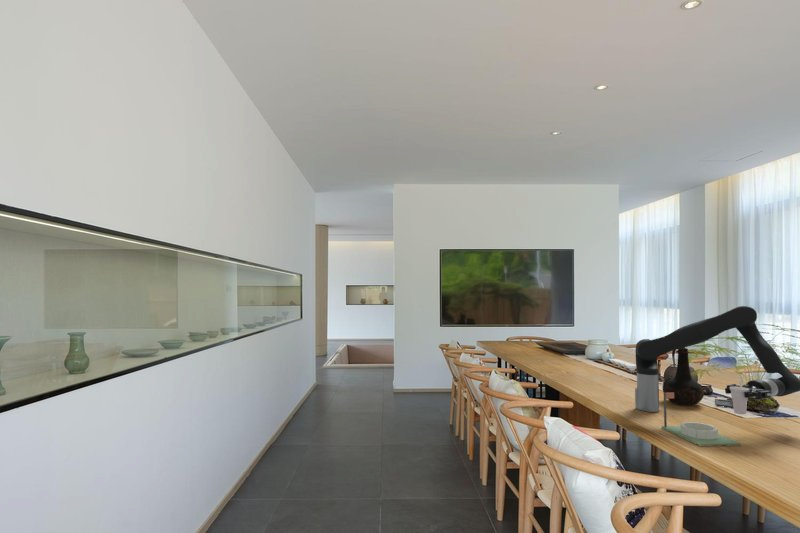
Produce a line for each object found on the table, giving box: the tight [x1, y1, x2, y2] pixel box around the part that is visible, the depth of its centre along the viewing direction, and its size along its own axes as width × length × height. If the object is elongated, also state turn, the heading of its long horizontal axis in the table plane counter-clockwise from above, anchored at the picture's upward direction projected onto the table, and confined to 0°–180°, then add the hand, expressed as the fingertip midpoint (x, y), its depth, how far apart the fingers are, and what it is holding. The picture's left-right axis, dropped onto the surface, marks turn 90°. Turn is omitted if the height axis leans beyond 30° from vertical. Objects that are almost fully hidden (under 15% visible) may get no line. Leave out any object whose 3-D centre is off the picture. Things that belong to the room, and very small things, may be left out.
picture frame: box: [714, 398, 734, 409], centre depth 228 cm, size 13×2×18 cm
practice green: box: [661, 392, 742, 446], centre depth 182 cm, size 22×16×15 cm
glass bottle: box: [662, 347, 705, 407], centre depth 233 cm, size 18×18×28 cm
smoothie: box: [730, 376, 749, 415], centre depth 181 cm, size 6×6×14 cm
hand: (735, 392), depth 180 cm, fingers closed on smoothie, 6 cm apart
